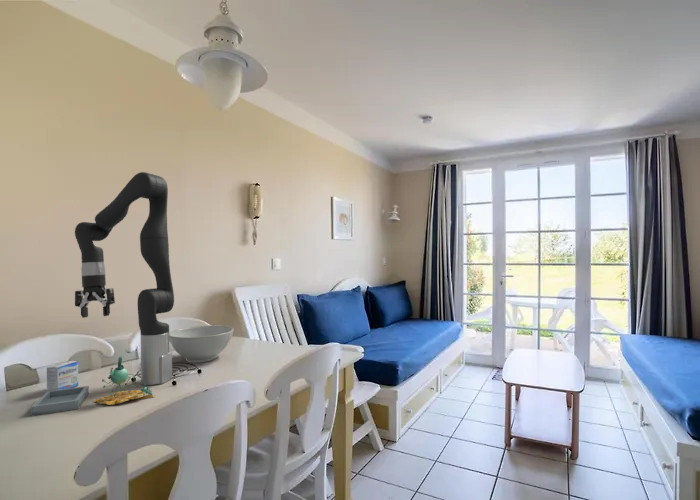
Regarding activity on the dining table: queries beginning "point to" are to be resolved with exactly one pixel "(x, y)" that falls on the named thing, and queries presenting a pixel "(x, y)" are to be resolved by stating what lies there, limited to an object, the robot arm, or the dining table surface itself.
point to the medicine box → (62, 376)
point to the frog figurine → (118, 378)
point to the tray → (60, 400)
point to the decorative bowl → (200, 341)
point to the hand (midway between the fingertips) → (95, 316)
